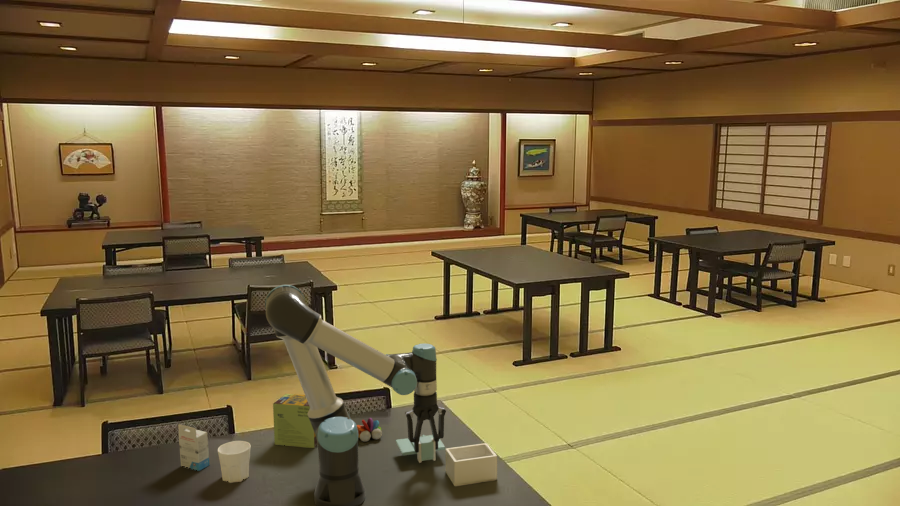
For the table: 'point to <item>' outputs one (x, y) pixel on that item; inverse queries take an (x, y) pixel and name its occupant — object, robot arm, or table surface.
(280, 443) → the protein box
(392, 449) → the table surface
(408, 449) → the lid
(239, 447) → the cup
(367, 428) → the rainbow disc toy
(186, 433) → the ink box
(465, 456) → the tub
